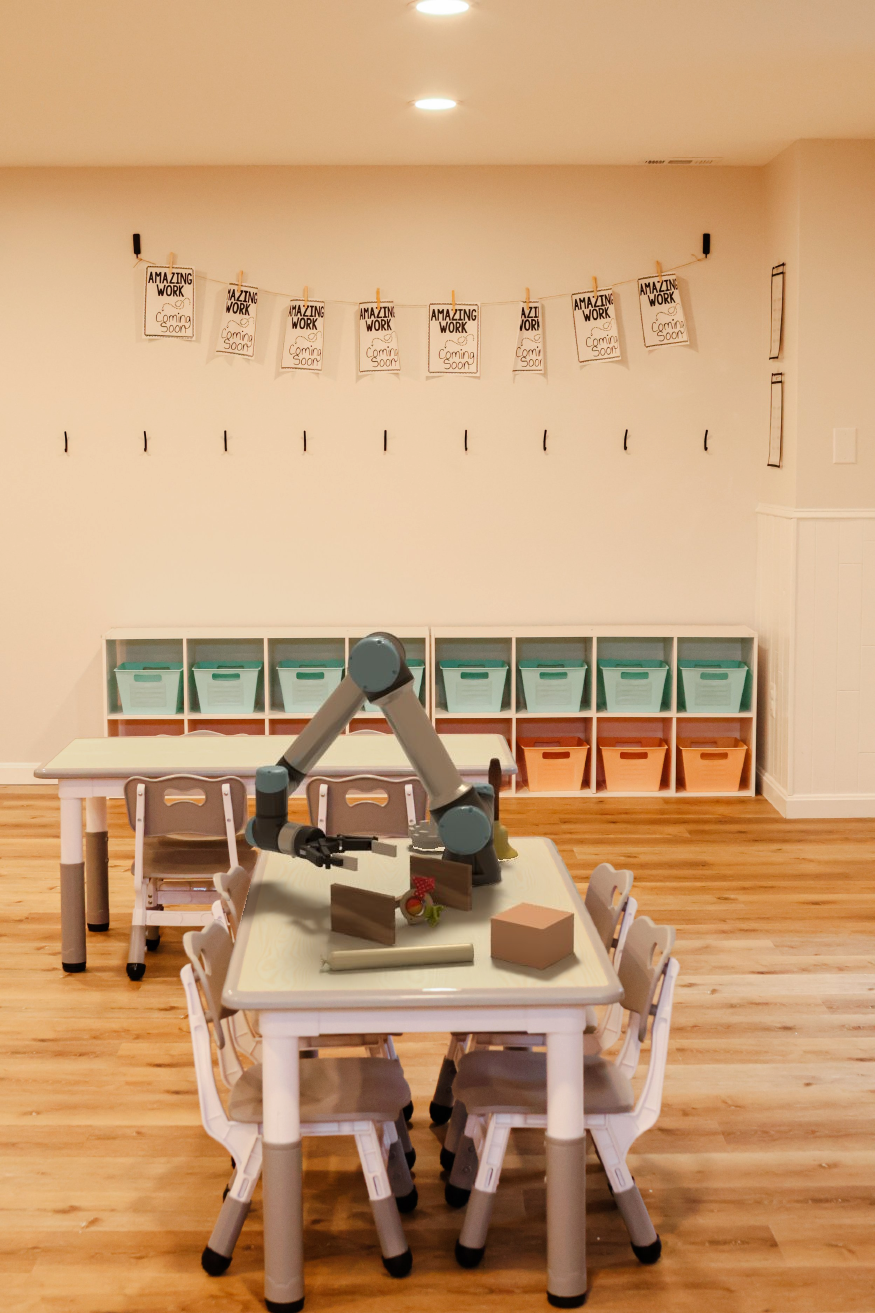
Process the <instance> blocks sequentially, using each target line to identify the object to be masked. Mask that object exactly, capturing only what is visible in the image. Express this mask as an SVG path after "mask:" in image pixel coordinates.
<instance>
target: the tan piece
mask: <svg viewBox="0 0 875 1313" xmlns="http://www.w3.org/2000/svg"><path fill="white" fill-rule="evenodd" d="M320 957H321V958H319V959H320V962H321V963H320V967H321V968H320V969H323V967H324V966H325V964H327V965H328V967H329V968H330V969H331V970H332V971H333V970H334V971H346V970H348V969H349V970H362V969H364V970H365V969H374V968H375V969H377V968H376V967H379V968H389V967H390V968H392V967H391V966H394V967H403V966H402V965H408V966H417V965H418V966H420V965H421V964H423V965H433V964H434V965H435V964H436V965H437V964H449V963H452V964H453V963H465V962H466V963H467V962H473V961H474V960H475V947H474V944H473V942H462V943H460V942H459V943H446V944H431V945H414V946H413V945H412V946H399V947H384V948H368V949H367V948H365V949H353V950H351V949H348V950H334V951H331V952H330V954H329V956H328V957H327V959H325V958H324V956H323V955H322V954H320ZM421 966H422V965H421Z"/></svg>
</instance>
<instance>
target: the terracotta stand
mask: <svg viewBox="0 0 875 1313" xmlns="http://www.w3.org/2000/svg"><path fill="white" fill-rule="evenodd" d="M574 948H575V912H570V911H565V910H560V909H557V908H551V907H547V906H543V905H537V904H533V903H528V902H521V903H518V904H517V905H514V906H513V907H511V908H508V909H506V910H504V911H502V912H500V913H498V914H496V915H494V916H492V917H490V958H494V959H498V960H503V961H507V962H509V963H510V962H511V963H514V964H515V963H516V964H519V965H523V966H527V967H532V968H535V969H539V970H544V969H545V968H547V967H549V966H552V964H555V963H557V962H558V961H560V960H562V959H564V958H565V957H567V956H569V955H570V954H572V953H574V952H575V951H574Z"/></svg>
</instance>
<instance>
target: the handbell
mask: <svg viewBox="0 0 875 1313" xmlns="http://www.w3.org/2000/svg"><path fill="white" fill-rule="evenodd" d="M487 771H488V776H487V784H490V785H492V786H493V788H494V795H495V798H494V848H495V851H496V854H497V858H498V859H499V860H503V859H511V858H515V857H517V856H518V854H519V853H518V851H517V850H516V849H514V848H513V846H511V844H510V843H509V832H508V829H507V827H506V826H505V825H503V824H502V823H501V822H500V790H501V786H502V782H503V780H502V779H503V778H502V776H503V775H502V767H501V762H500V759H499V758H497V757H492V758H491V759H490V761H489V766H488V770H487Z"/></svg>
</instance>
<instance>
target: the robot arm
mask: <svg viewBox="0 0 875 1313" xmlns="http://www.w3.org/2000/svg"><path fill="white" fill-rule="evenodd" d="M355 643H356V644H354V645H353V646H352V648H351V650H350V652H349V654H348V655H349V656H348V659H347V667H346V675H345V676H344V678H342V680H341V681H340V682H339V684H338V685H337V686H336V688H335V689H334V690H333V692H332V693H331V694H330V695H329V696H328V698H327V699H326V700H325V702H324V703H323V704H322V705H321V707H320V708H319V709H318V710H317V712H316V713H315V714H314V715H313V717H312V718H311V719H310V720H309V722H308V723H307V724H306V726H305V727H304V728H303V730H302V731H301V732H300V733H299V734H298V736H296V739H294V741H293V742H292V744H290V746H289V747H288V748H287V749H286V751H285V752H284V753H283V754H282V756H281V757H280V758H279V760H278V761H277V762H276V764H275V765H264V766H262V767H261V766H260V767H259V768H257V769H256V771H255V781H254V789H255V793H254V794H255V796H254V797H255V799H254V800H255V815H253V816H252V817H250V818H249V820H248V821H247V823H246V827H245V828H244V836H245V839H246V843H248V844H249V845H250V846H251V847H254V848H257V849H260V850H262V851H266V852H267V851H268V852H272V853H278V854H282V855H286V856H291V858H292V859H296V858H300V859H302V860H307V861H308V862H309V863H311V864H313V865H314V866H316V867H318V868H323V867H324V868H325V870H331V868H332V867H335V868H340V869H343V870H348V871H352V872H357V871H358V870H359V869H358V863H359V862H358V860H359V858H358V857H354V856H350V855H349V856H348V855H345V853H346V852H371V853H373V854H375V855H376V854H377V855H382V856H385V857H386V856H387V857H390V858H397V857H398V856H397V855H398V854H397V852H398V850H397V848H398V845H397V844H394V843H388V842H384V841H379V837H378V836H376V835H372V836H364V835H363V836H362V835H347V834H346V835H345V834H341V833H337V834H336V836H334V835H326V834H325V832H324V830H323V829H322V828H320V827H317V826H312V825H307V824H303V823H299V822H294V821H289V798H290V797H291V796H292V794H293V793H294V792H296V791H297V789H299V787H300V785H301V784H302V782H303V781H304V780H305V779H306V777H307V776H308V774H309V773H310V772H311V771H312V769H313V768H314V767H315V766H316V764H317V763H318V762H319V761H320V760H321V758H322V757H323V756H324V755H325V753H326V752H327V751H328V750H329V748H330V747H331V746H332V745H333V744H334V743H335V741H336V740H337V739H338V737H339V736H340V735H341V734H342V732H343V731H344V730H345V729H346V727H347V726H348V725H349V724H350V723H351V721H352V720H353V719H354V717H355V716H356V715H357V713H358V712H359V711H360V710H361V709H362V707H363V706H364V705H365V703H366V702H367V701H368V703H369V704H370V705H373V706H376V707H378V708H379V709H380V710H381V712H382V715H383V716H384V718H385V719H386V720H385V721H386V722H387V724H388V725H389V728H390V729H391V730H392V733H393V734H394V736H395V738H396V740H397V742H398V743H399V745H400V747H401V749H402V750H403V752H404V754H405V756H406V758H407V759H408V761H409V763H410V765H411V767H412V769H413V771H414V773H415V774H416V777H417V778H418V780H419V781H420V783H421V785H422V787H423V789H424V790H425V792H426V794H427V796H428V798H429V801H428V806H427V810H428V812H429V815H430V814H431V816H432V817H433V819H434V821H435V823H436V825H437V826H438V835H439V838H440V840H441V842H442V844H443V845H444V846H445V849H444V851H442V855H441V858H440V859H442V860H447V861H452V862H457V863H463V864H468V865H472V887H481V886H482V887H483V886H489V885H492V884H495V883H497V882H499V881H500V880H502V868H501V865H500V862H499V861H498V858H497V854H496V851H495V848H494V798H495V795H494V788H493V786H492V785H490V784H488V782H487V783H486V782H474V781H473V782H469V781H465V780H464V779H463V778H462V776H461V774H460V773H459V771H458V769H457V767H456V765H455V763H454V762H453V759H452V758H451V756H450V755H449V752H448V751H447V749H446V747H445V745H444V744H443V741H442V740H441V738H440V737H439V735H438V732H437V731H436V729H435V726H433V723H432V722H431V720H430V718H429V716H428V714H427V712H426V710H425V708H424V707H423V705H422V703H421V701H420V700H419V698H418V696H417V694H416V692H415V690H414V684H415V680H416V678H415V677H414V674H413V673H412V670H411V669H410V668H409V667H410V666H409V665H408V663H407V662H406V660H407V653H406V649H405V646H404V644H403V643H402V641H401V640H400V639H399V638H398V637H397V635H394V634H392V633H390V632H387V631H375V632H372V633H370V634H368V635H366V636H365V637H364V638H361V640H359V641H358V642H355Z"/></svg>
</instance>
